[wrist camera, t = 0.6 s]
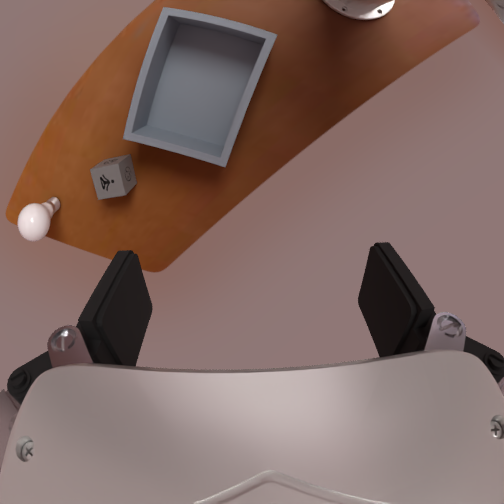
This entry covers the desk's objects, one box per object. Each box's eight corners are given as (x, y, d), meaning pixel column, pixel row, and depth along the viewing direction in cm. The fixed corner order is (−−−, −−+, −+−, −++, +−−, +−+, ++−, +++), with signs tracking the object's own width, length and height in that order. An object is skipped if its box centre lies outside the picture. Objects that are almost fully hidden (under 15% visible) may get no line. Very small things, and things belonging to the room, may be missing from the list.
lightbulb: (73, 197, 44) (40, 228, 34) (64, 222, 46) (34, 255, 37) (49, 180, 41) (13, 207, 32) (41, 205, 44) (9, 235, 35)
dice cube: (104, 159, 40) (90, 169, 36) (130, 153, 40) (118, 163, 36) (111, 187, 43) (98, 199, 39) (137, 182, 43) (125, 195, 39)
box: (177, 17, 28) (163, 7, 23) (272, 42, 31) (277, 34, 25) (141, 128, 38) (123, 138, 32) (229, 153, 41) (225, 167, 35)
